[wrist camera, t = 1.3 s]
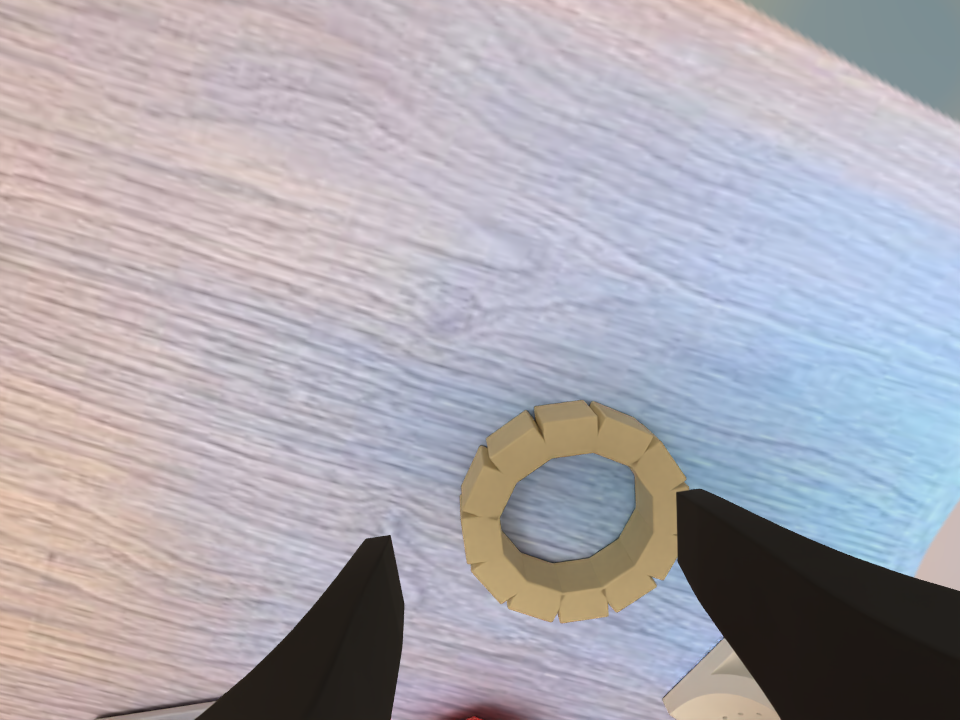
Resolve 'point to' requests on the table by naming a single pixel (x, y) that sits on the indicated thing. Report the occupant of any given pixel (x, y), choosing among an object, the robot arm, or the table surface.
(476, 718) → the apple
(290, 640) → the robot arm
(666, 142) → the table surface
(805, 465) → the table surface
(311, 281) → the table surface
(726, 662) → the headphone stand
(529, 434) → the tan segmented ring
